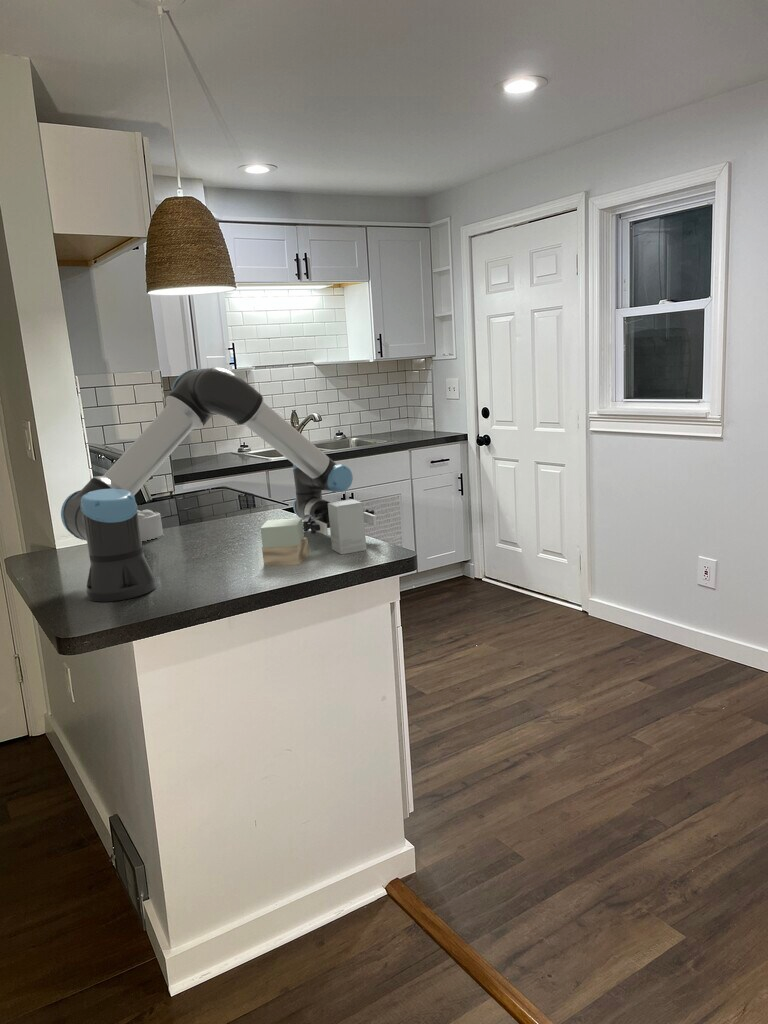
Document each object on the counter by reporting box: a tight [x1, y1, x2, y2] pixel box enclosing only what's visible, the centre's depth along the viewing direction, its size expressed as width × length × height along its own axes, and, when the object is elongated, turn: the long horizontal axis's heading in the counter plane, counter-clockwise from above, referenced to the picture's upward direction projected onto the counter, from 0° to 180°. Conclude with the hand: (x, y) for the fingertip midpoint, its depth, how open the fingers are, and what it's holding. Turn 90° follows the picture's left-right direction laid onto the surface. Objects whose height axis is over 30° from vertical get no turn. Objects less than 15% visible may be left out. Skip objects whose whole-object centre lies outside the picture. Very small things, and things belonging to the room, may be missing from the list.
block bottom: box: [261, 536, 310, 566], centre depth 192 cm, size 9×9×5 cm
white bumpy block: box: [137, 509, 164, 541], centre depth 233 cm, size 10×13×9 cm
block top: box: [260, 517, 305, 548], centre depth 191 cm, size 9×9×5 cm
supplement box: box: [328, 498, 367, 555], centre depth 197 cm, size 7×7×13 cm
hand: (350, 525), depth 195 cm, fingers open, 13 cm apart
